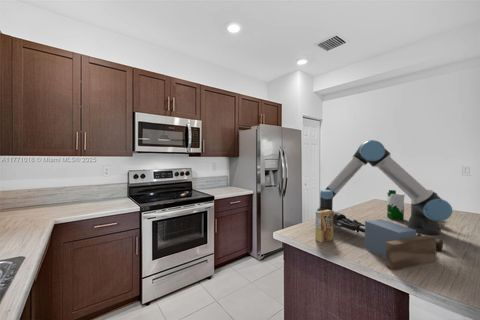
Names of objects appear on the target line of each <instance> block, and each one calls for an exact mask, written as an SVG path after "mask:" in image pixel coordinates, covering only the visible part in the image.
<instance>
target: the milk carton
mask: <svg viewBox="0 0 480 320" xmlns="http://www.w3.org/2000/svg"><path fill="white" fill-rule="evenodd" d="M405 195H406V194H405V193H404V194H403V193H400V192H397V190H395V189H388V192H386V196H387V197H386V198H387V206H386V207H387V209H386V210H387V212H386V213H387V215H386V217H387V218H388V219H390V220H392V221H404V219H405V216H404V215H405Z"/></svg>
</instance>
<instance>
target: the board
mask: <svg viewBox="0 0 480 320" xmlns="http://www.w3.org/2000/svg"><path fill="white" fill-rule="evenodd" d="M436 239H437V237H435V236H432V235H430V234H424V235H422V236H419V237H413V238H407V239H401V240H395V241H389V242H386V258H385V267H386V268H388V269H390V270H392V271H398V270H402V269H407V268H411V267H415V266H420V265H425V264H429V263H435V262H436V261H437V260H436V258H437V257H436V255H437V249H436Z"/></svg>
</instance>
